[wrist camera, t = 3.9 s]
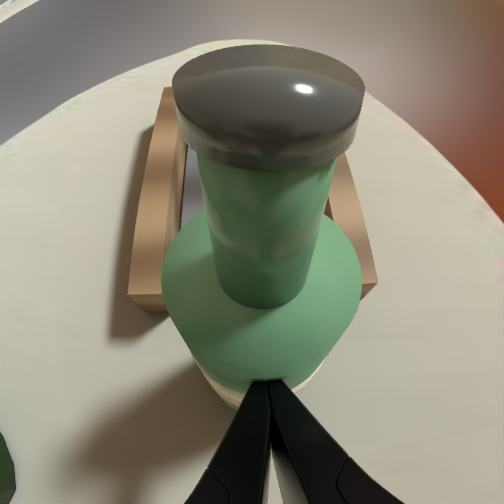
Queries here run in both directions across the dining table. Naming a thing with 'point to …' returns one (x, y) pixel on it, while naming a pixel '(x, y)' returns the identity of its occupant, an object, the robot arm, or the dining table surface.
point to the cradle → (169, 205)
